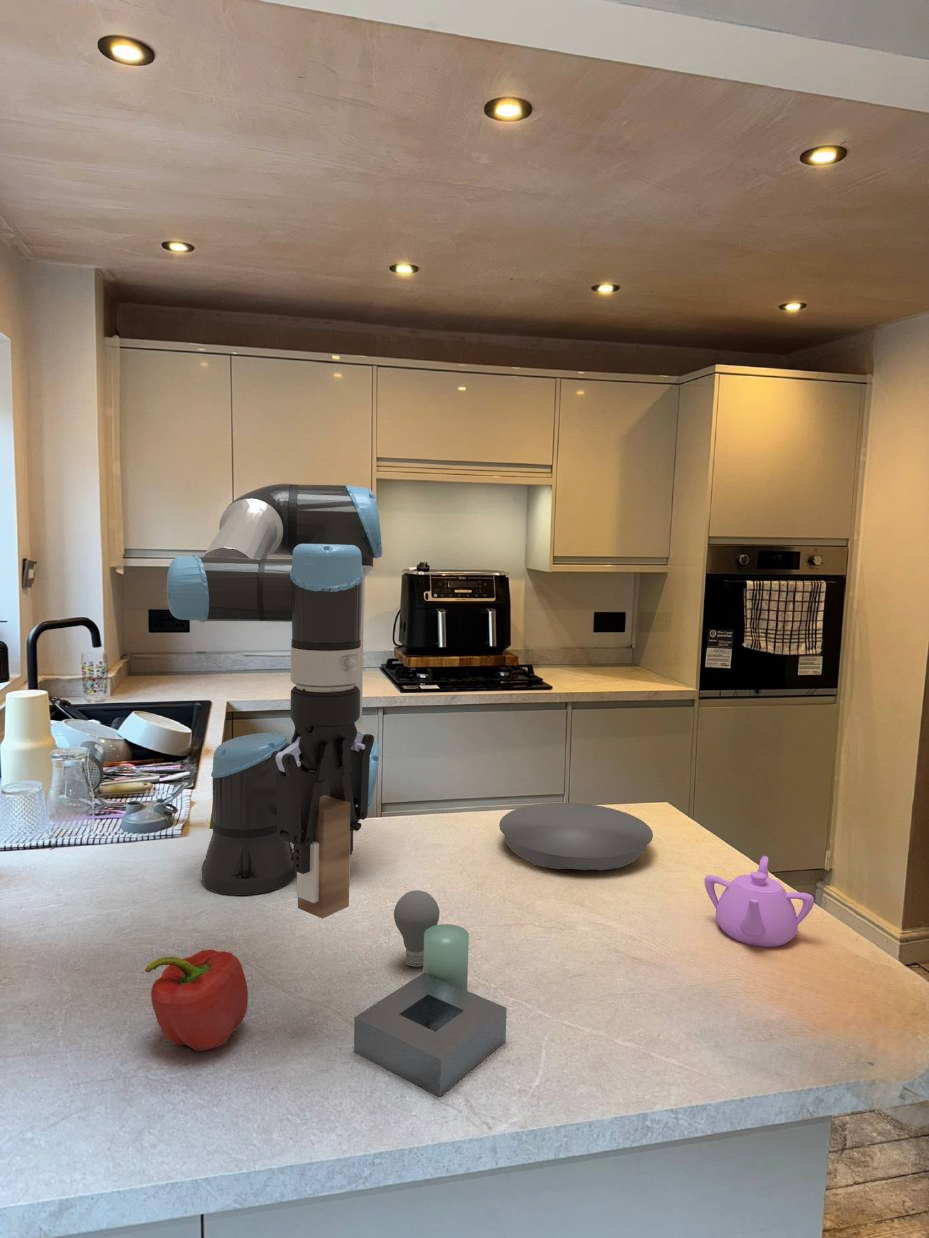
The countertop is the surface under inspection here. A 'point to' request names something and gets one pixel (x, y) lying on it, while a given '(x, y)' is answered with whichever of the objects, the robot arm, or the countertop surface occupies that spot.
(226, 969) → the vegetable
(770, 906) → the teapot
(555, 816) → the flat disc
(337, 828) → the walnut square peg
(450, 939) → the green round bit
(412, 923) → the light bulb
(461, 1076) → the bore block
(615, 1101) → the countertop surface
